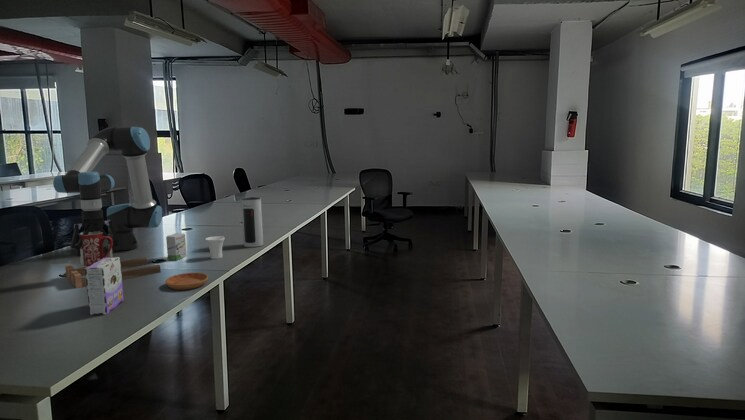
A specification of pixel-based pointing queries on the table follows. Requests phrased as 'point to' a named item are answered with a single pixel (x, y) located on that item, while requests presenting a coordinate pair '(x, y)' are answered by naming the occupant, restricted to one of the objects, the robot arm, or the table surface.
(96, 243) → the mug
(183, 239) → the ink box
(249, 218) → the speaker
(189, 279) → the saucer
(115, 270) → the candy box
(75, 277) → the guide channel
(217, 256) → the cup
